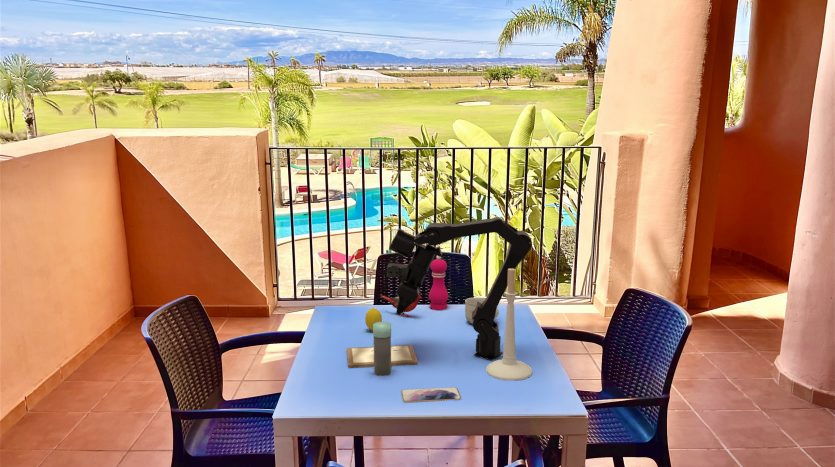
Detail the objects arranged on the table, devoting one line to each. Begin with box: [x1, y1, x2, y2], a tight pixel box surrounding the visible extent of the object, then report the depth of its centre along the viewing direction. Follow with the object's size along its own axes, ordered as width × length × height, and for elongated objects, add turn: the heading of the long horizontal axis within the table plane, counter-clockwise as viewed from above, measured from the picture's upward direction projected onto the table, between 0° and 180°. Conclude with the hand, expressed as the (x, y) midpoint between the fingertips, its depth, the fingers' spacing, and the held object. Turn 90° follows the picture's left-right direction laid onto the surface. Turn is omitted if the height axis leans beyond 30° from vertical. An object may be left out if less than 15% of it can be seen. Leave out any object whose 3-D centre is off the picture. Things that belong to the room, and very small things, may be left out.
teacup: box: [464, 297, 500, 325], centre depth 226 cm, size 14×11×8 cm
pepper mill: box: [428, 255, 449, 311], centre depth 244 cm, size 7×7×20 cm
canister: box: [372, 321, 392, 377], centre depth 184 cm, size 5×5×14 cm
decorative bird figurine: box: [380, 293, 422, 318], centre depth 236 cm, size 3×18×10 cm, turn 58°
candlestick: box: [485, 268, 533, 382], centre depth 183 cm, size 13×13×30 cm
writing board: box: [346, 344, 419, 369], centre depth 197 cm, size 20×14×1 cm
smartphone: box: [400, 387, 462, 404], centre depth 171 cm, size 7×1×15 cm
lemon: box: [364, 307, 383, 331], centre depth 219 cm, size 6×6×8 cm
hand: (399, 309), depth 198 cm, fingers open, 9 cm apart
